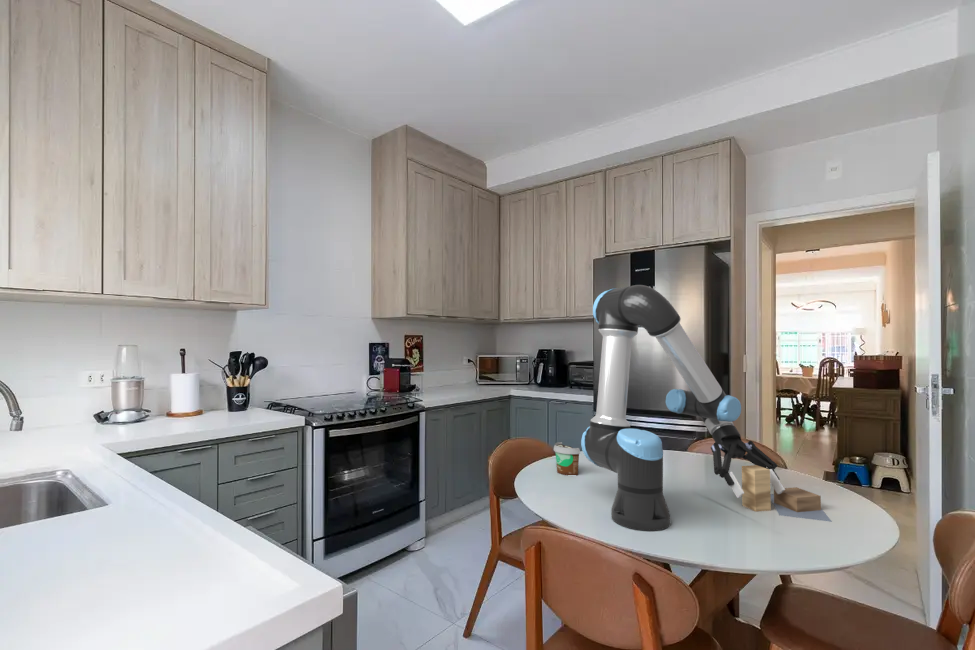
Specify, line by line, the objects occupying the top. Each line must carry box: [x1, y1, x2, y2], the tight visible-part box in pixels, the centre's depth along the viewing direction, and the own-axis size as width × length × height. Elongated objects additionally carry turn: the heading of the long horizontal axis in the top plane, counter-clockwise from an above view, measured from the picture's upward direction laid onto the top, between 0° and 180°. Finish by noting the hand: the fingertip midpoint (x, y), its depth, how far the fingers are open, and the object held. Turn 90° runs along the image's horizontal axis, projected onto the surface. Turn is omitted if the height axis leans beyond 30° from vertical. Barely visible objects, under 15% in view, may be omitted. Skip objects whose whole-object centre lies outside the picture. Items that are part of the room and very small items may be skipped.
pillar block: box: [741, 464, 772, 513], centre depth 134 cm, size 5×5×12 cm
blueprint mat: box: [770, 493, 833, 523], centre depth 135 cm, size 20×12×1 cm, turn 157°
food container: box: [553, 441, 581, 476], centre depth 172 cm, size 12×6×10 cm, turn 25°
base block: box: [773, 486, 822, 512], centre depth 136 cm, size 8×8×4 cm
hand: (761, 493), depth 133 cm, fingers open, 13 cm apart
